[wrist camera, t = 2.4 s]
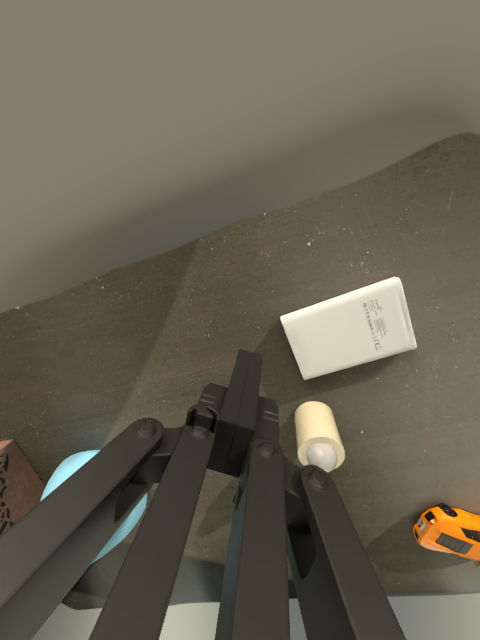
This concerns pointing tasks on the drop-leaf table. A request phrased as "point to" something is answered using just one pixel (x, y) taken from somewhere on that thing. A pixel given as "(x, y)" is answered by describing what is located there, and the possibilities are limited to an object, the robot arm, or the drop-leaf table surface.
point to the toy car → (449, 532)
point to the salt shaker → (318, 436)
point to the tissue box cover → (16, 485)
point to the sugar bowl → (72, 466)
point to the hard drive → (350, 329)
